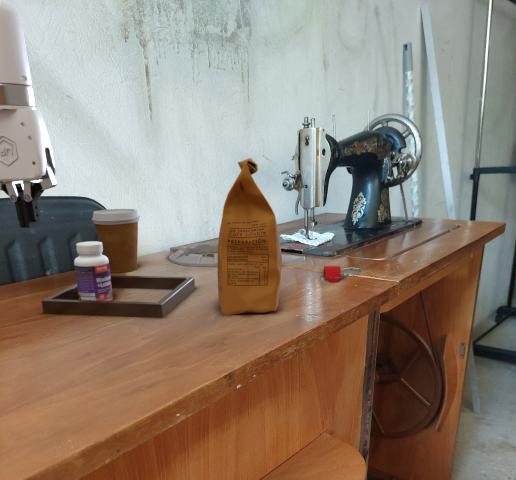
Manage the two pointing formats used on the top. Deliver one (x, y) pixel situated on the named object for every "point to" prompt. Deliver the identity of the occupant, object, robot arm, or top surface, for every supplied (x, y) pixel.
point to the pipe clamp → (332, 273)
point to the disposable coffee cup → (118, 237)
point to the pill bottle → (92, 272)
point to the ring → (195, 256)
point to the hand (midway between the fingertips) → (30, 226)
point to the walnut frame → (69, 305)
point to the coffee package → (248, 249)
